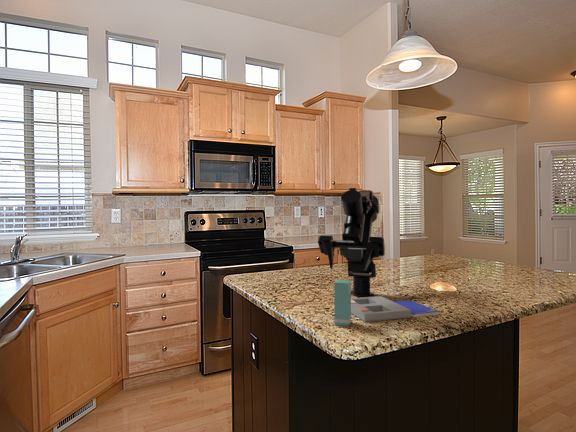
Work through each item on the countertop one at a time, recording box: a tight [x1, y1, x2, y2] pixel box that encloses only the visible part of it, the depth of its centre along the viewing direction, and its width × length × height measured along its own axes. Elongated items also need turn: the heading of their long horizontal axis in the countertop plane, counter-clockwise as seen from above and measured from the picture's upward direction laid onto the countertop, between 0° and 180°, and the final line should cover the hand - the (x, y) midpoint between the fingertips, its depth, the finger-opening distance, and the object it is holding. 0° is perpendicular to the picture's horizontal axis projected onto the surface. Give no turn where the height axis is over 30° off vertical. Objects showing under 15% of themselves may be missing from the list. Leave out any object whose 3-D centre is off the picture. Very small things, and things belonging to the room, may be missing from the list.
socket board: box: [351, 295, 412, 323], centre depth 105 cm, size 16×14×2 cm
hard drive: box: [394, 299, 440, 318], centre depth 107 cm, size 2×8×12 cm
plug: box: [333, 279, 352, 327], centre depth 94 cm, size 4×4×11 cm
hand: (347, 269), depth 100 cm, fingers open, 9 cm apart
